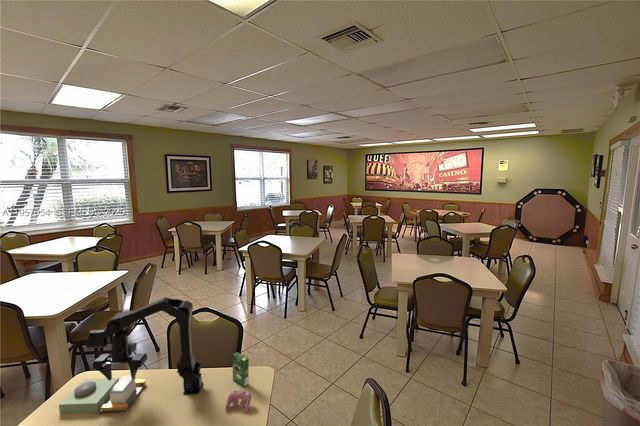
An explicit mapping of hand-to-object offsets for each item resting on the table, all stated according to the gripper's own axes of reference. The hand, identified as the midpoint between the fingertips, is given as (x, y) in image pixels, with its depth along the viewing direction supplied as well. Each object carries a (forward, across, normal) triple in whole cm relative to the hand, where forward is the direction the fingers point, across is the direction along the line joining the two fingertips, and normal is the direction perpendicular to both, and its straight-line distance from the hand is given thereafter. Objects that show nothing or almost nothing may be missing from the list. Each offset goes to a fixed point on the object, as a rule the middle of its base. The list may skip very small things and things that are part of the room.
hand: (122, 379), depth 120 cm
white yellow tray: (+9, 0, 0) cm, 9 cm away
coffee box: (+9, -47, -7) cm, 49 cm away
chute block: (+8, 0, 0) cm, 8 cm away
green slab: (+9, +13, 0) cm, 15 cm away
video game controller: (+9, -49, +7) cm, 50 cm away
